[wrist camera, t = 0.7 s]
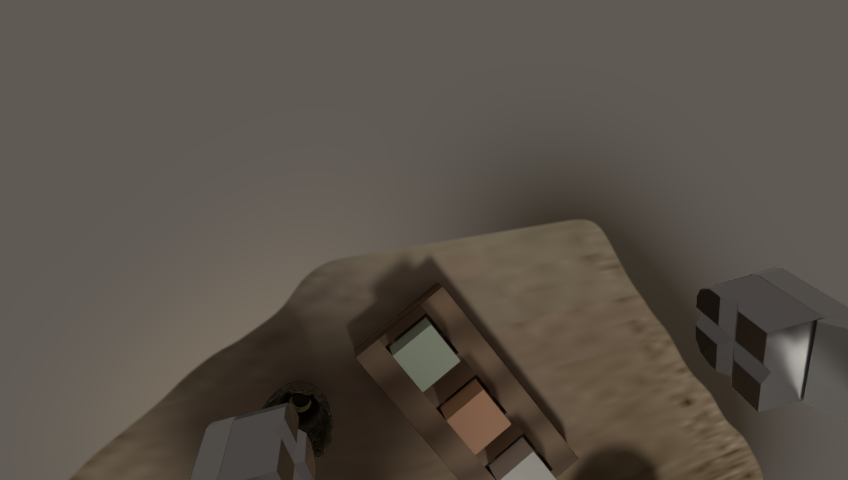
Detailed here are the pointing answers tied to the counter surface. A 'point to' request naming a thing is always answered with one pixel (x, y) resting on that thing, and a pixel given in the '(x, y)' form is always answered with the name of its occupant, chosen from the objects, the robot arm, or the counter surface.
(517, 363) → the counter surface
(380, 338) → the walnut button board
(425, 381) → the sage button
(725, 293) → the robot arm
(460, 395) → the terracotta button
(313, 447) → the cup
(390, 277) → the counter surface
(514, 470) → the grey button
